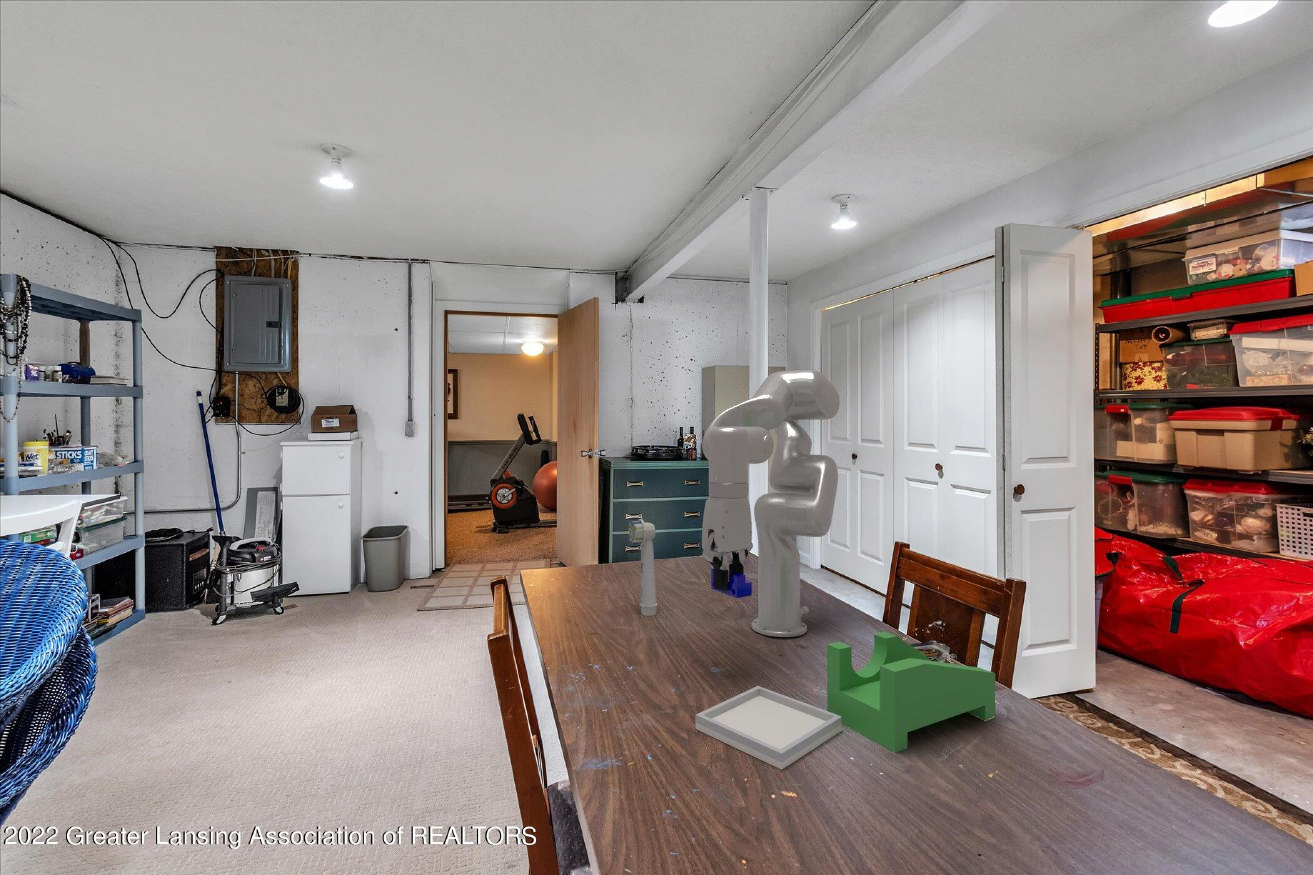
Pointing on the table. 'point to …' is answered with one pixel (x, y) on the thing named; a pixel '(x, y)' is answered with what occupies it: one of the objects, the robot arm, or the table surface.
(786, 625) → the robot arm
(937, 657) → the silver rectangular box
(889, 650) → the green cradle stand
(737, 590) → the cable holder
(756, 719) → the tray
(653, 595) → the toothbrush head
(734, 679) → the table surface
